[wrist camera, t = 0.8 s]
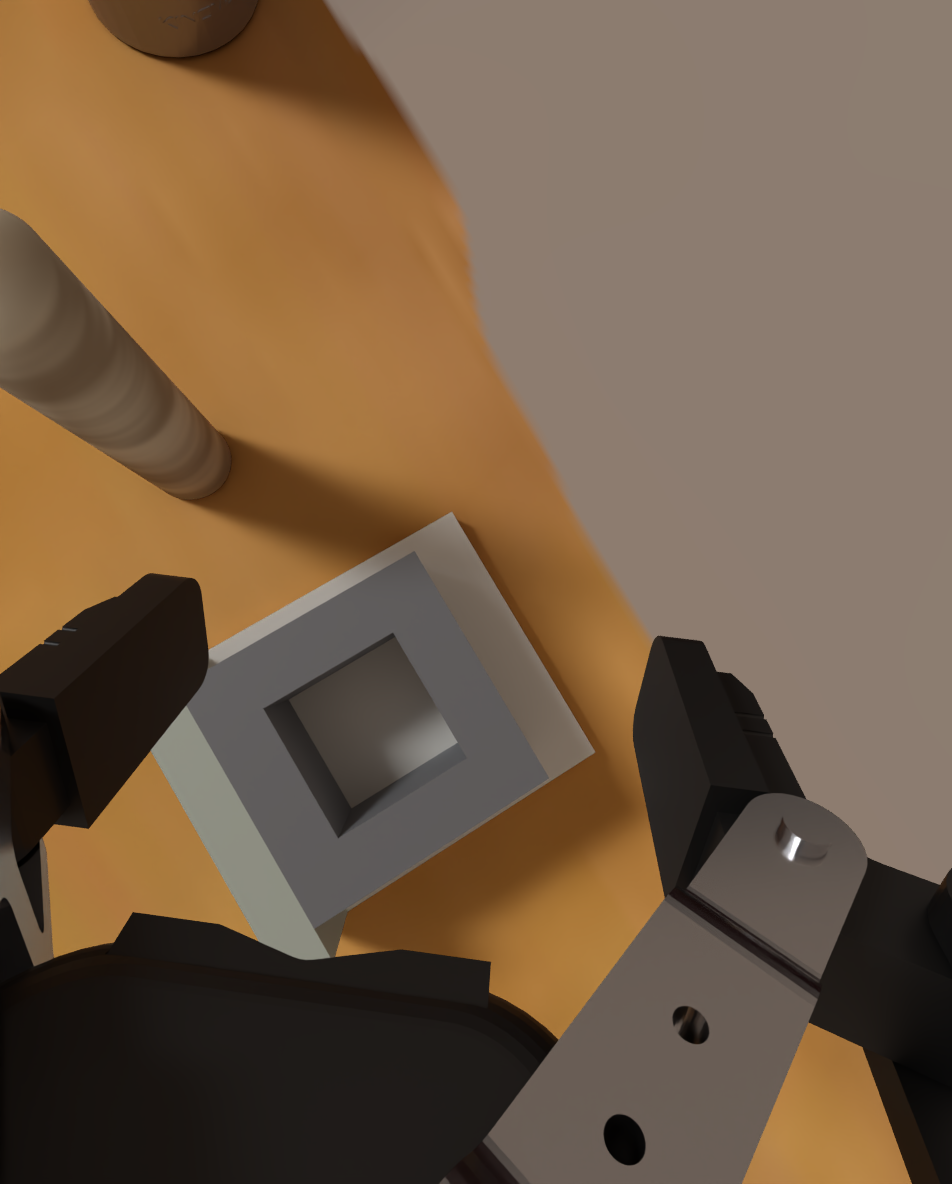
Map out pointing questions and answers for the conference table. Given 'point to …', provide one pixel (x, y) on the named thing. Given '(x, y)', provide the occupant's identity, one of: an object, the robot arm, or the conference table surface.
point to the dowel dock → (364, 736)
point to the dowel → (96, 373)
